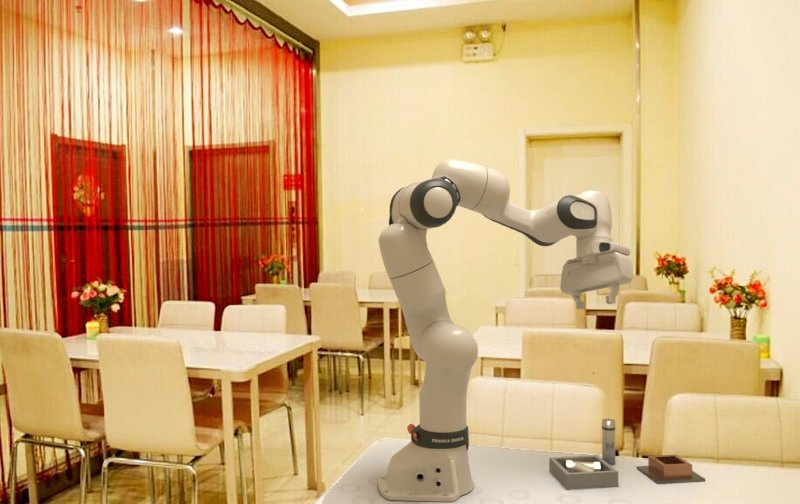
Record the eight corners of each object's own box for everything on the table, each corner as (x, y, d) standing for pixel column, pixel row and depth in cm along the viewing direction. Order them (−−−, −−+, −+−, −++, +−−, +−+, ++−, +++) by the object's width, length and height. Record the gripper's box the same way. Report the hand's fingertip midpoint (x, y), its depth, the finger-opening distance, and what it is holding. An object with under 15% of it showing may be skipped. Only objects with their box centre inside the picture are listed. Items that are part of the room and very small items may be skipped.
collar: (657, 484, 149) (657, 468, 149) (636, 468, 159) (636, 454, 159) (705, 481, 150) (705, 466, 150) (681, 466, 160) (681, 452, 160)
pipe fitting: (602, 487, 149) (599, 474, 155) (602, 471, 148) (599, 459, 155) (567, 484, 150) (565, 472, 157) (567, 469, 150) (565, 457, 157)
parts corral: (566, 489, 146) (566, 474, 146) (549, 471, 157) (549, 457, 157) (618, 486, 147) (618, 471, 147) (597, 468, 159) (597, 455, 159)
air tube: (605, 465, 161) (605, 422, 161) (599, 460, 164) (599, 418, 164) (617, 464, 162) (617, 422, 161) (612, 460, 165) (611, 418, 165)
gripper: (555, 258, 168) (554, 309, 163) (619, 241, 151) (620, 297, 147) (571, 264, 171) (571, 314, 167) (636, 247, 154) (638, 302, 150)
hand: (595, 306), depth 157 cm, fingers open, 8 cm apart
